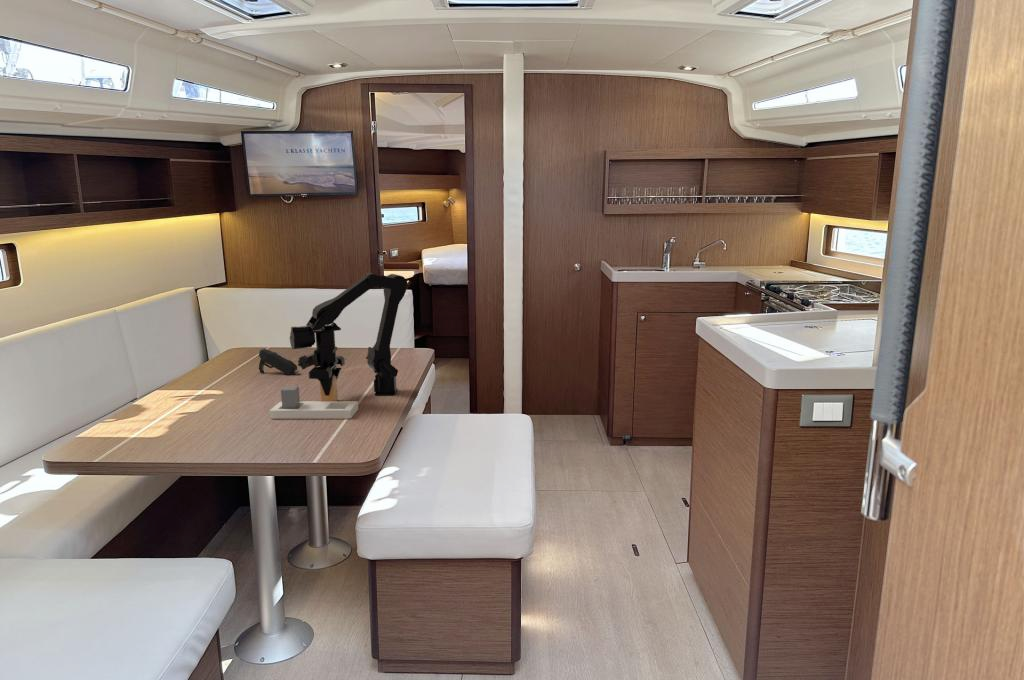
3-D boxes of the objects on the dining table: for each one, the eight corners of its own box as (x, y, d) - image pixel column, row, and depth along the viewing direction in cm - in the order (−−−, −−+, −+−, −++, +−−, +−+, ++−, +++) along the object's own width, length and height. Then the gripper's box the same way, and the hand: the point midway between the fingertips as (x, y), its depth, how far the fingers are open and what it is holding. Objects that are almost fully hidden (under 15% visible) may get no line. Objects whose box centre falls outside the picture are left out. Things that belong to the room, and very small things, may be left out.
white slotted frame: (358, 409, 211) (357, 401, 210) (350, 418, 202) (350, 410, 202) (280, 409, 212) (280, 401, 211) (269, 418, 203) (269, 410, 202)
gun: (289, 390, 253) (298, 367, 250) (251, 369, 254) (260, 346, 251) (292, 388, 256) (302, 365, 253) (256, 367, 257) (265, 344, 254)
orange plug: (337, 400, 221) (336, 375, 219) (334, 403, 217) (332, 379, 215) (325, 400, 221) (323, 376, 219) (321, 403, 217) (319, 379, 215)
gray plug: (300, 411, 209) (298, 386, 207) (296, 415, 205) (294, 390, 204) (287, 411, 209) (285, 386, 208) (283, 416, 205) (280, 390, 204)
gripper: (309, 339, 224) (313, 385, 227) (289, 352, 206) (294, 402, 209) (343, 339, 224) (346, 385, 227) (326, 352, 206) (330, 402, 209)
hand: (329, 393), depth 218 cm, fingers closed on orange plug, 4 cm apart
